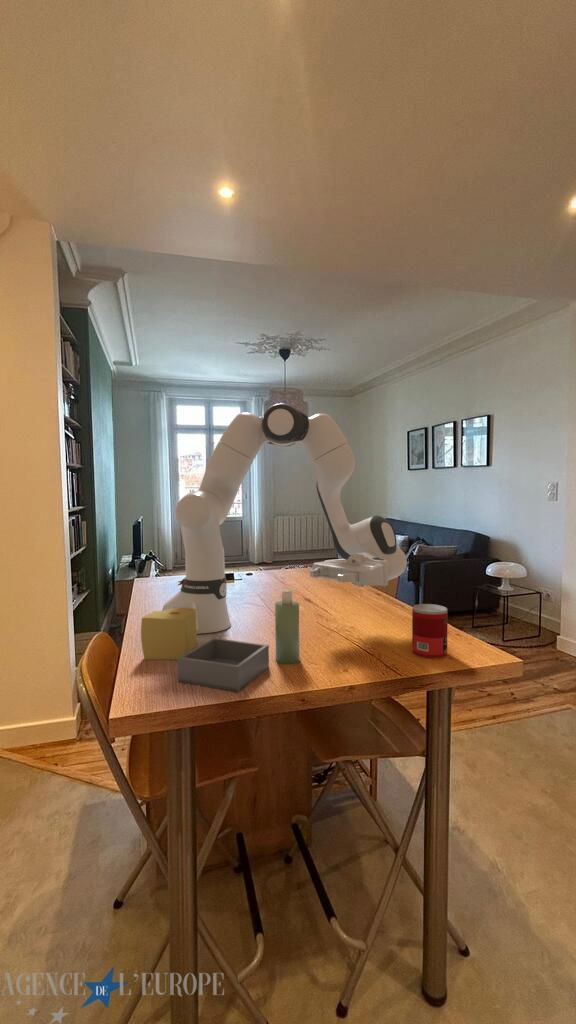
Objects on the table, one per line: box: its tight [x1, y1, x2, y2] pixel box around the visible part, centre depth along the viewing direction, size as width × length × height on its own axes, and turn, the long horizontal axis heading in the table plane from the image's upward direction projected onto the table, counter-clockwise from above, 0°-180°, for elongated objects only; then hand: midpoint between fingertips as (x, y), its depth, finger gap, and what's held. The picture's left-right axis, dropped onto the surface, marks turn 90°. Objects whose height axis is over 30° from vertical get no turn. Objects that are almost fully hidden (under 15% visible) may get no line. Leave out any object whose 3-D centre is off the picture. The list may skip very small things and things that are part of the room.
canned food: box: [411, 603, 449, 659], centre depth 113 cm, size 8×8×11 cm
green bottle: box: [274, 589, 300, 665], centre depth 109 cm, size 6×6×16 cm
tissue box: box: [140, 608, 198, 661], centre depth 114 cm, size 10×11×10 cm
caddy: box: [177, 637, 270, 693], centre depth 101 cm, size 14×14×5 cm
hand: (325, 576), depth 117 cm, fingers open, 8 cm apart
